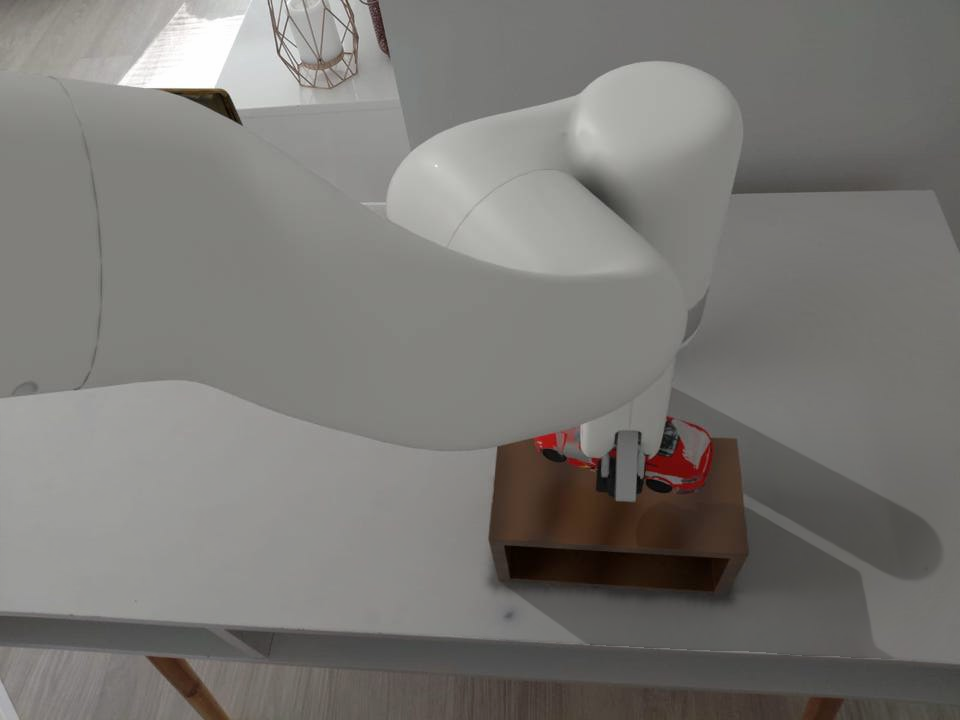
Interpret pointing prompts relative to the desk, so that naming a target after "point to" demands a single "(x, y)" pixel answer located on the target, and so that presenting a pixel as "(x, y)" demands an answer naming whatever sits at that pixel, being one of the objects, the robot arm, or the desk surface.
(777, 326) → the desk surface
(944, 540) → the desk surface
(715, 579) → the shelf
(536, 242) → the robot arm
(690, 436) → the race car
